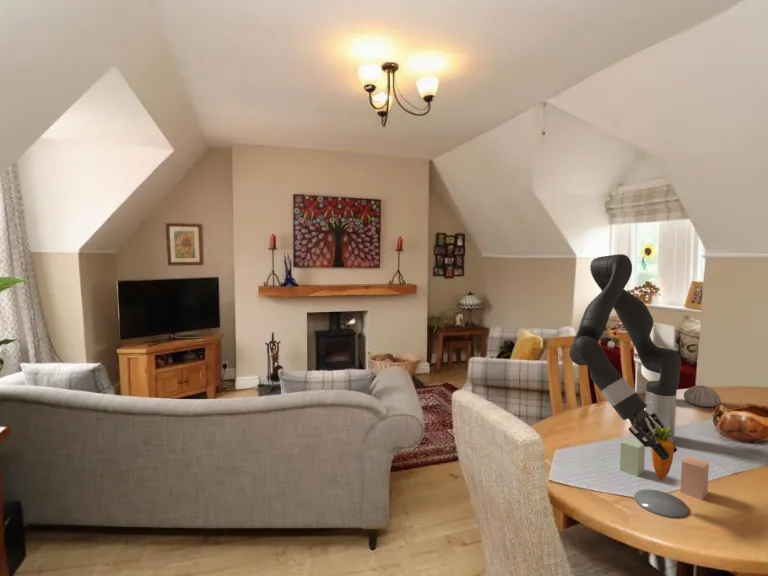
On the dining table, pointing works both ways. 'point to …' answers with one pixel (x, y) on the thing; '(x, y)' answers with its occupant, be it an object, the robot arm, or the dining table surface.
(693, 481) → the terracotta block
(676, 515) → the slate coaster
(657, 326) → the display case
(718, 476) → the dining table surface
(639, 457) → the sage block
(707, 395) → the sea urchin shell
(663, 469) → the carrot
